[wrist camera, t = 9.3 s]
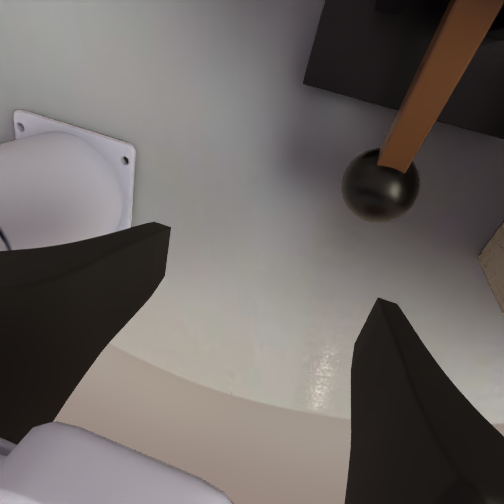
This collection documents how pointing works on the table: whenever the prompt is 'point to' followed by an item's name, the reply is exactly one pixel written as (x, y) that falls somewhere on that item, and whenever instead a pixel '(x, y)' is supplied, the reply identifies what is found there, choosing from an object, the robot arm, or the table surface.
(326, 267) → the table surface
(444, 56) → the lever
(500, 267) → the beige open box
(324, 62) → the lever stand
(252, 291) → the table surface
